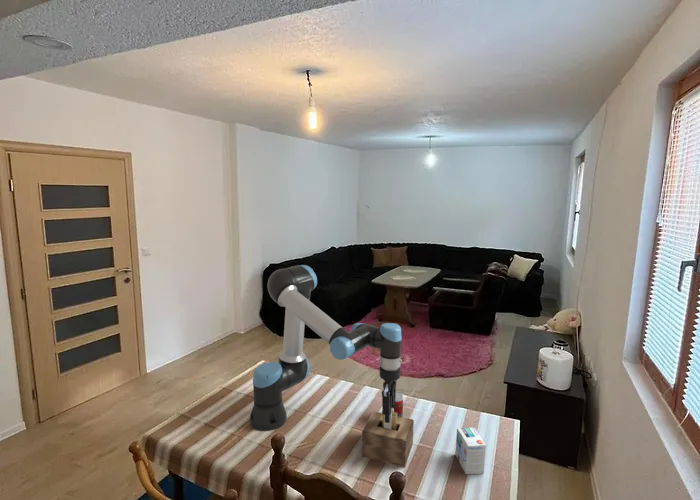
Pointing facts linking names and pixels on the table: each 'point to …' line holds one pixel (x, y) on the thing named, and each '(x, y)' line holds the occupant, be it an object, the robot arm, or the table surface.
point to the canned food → (399, 404)
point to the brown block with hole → (387, 440)
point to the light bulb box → (470, 450)
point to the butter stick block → (394, 421)
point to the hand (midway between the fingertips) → (388, 426)
